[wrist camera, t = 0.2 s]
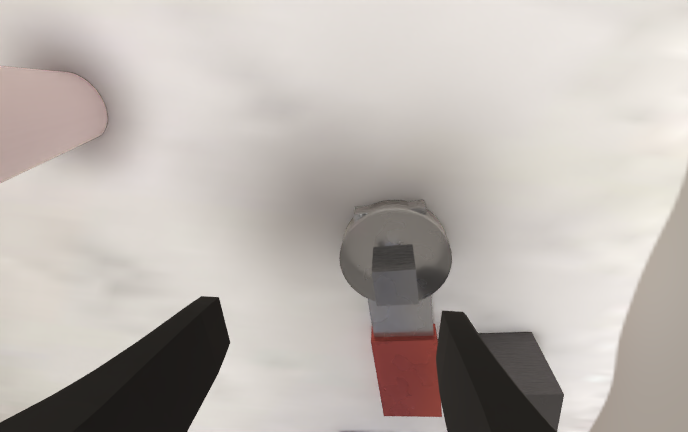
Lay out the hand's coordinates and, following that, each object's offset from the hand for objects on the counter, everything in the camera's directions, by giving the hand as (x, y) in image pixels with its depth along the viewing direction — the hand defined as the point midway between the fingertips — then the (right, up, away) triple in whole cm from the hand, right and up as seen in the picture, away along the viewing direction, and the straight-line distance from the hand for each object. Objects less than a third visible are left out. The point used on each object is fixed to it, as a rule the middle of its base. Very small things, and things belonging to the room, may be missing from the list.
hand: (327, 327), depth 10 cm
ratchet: (+5, -4, +12) cm, 14 cm away
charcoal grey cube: (+11, -7, +13) cm, 18 cm away
